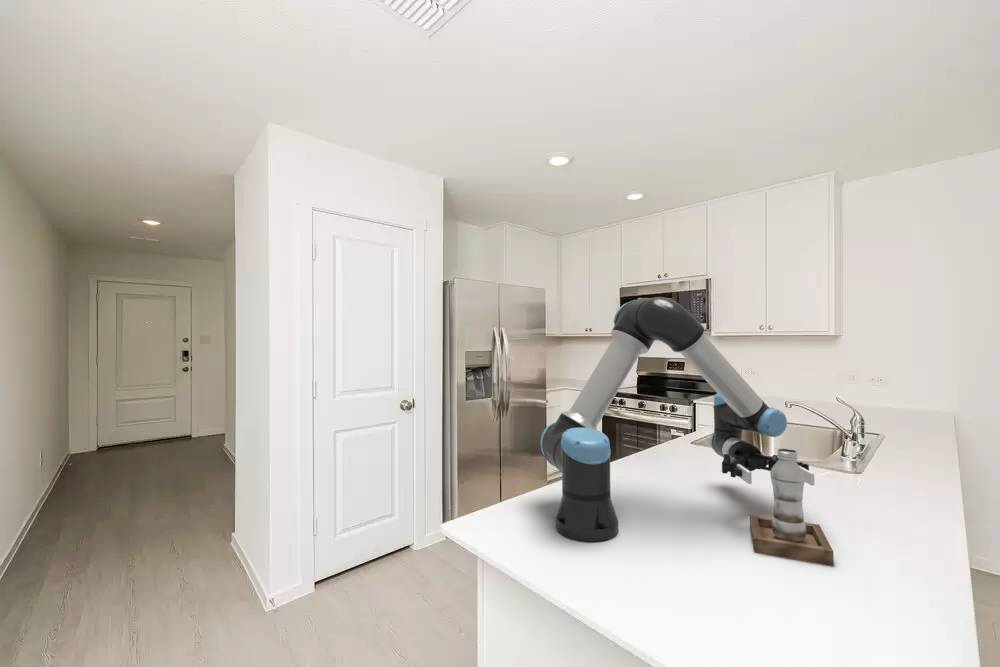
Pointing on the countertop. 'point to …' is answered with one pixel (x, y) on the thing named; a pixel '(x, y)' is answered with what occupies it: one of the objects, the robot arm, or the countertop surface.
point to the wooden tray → (791, 543)
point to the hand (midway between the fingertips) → (781, 478)
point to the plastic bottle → (788, 497)
